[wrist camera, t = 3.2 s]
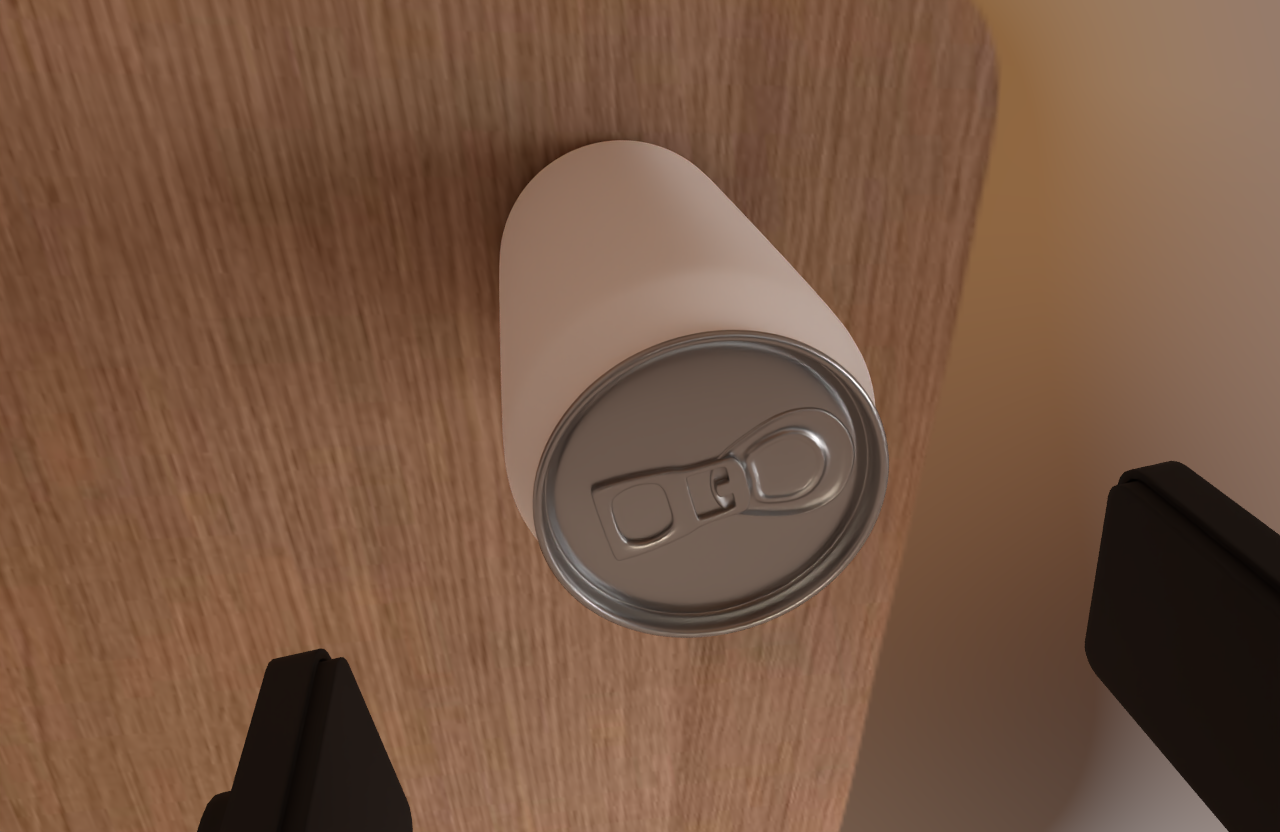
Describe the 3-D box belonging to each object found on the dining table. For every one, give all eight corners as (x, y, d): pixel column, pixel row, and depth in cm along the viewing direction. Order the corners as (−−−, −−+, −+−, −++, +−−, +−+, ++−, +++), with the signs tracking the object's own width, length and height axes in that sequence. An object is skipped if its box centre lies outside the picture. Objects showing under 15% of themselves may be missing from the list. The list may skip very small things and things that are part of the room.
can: (753, 325, 25) (934, 590, 15) (542, 391, 25) (577, 702, 15) (704, 103, 22) (891, 243, 12) (463, 178, 22) (436, 385, 12)
